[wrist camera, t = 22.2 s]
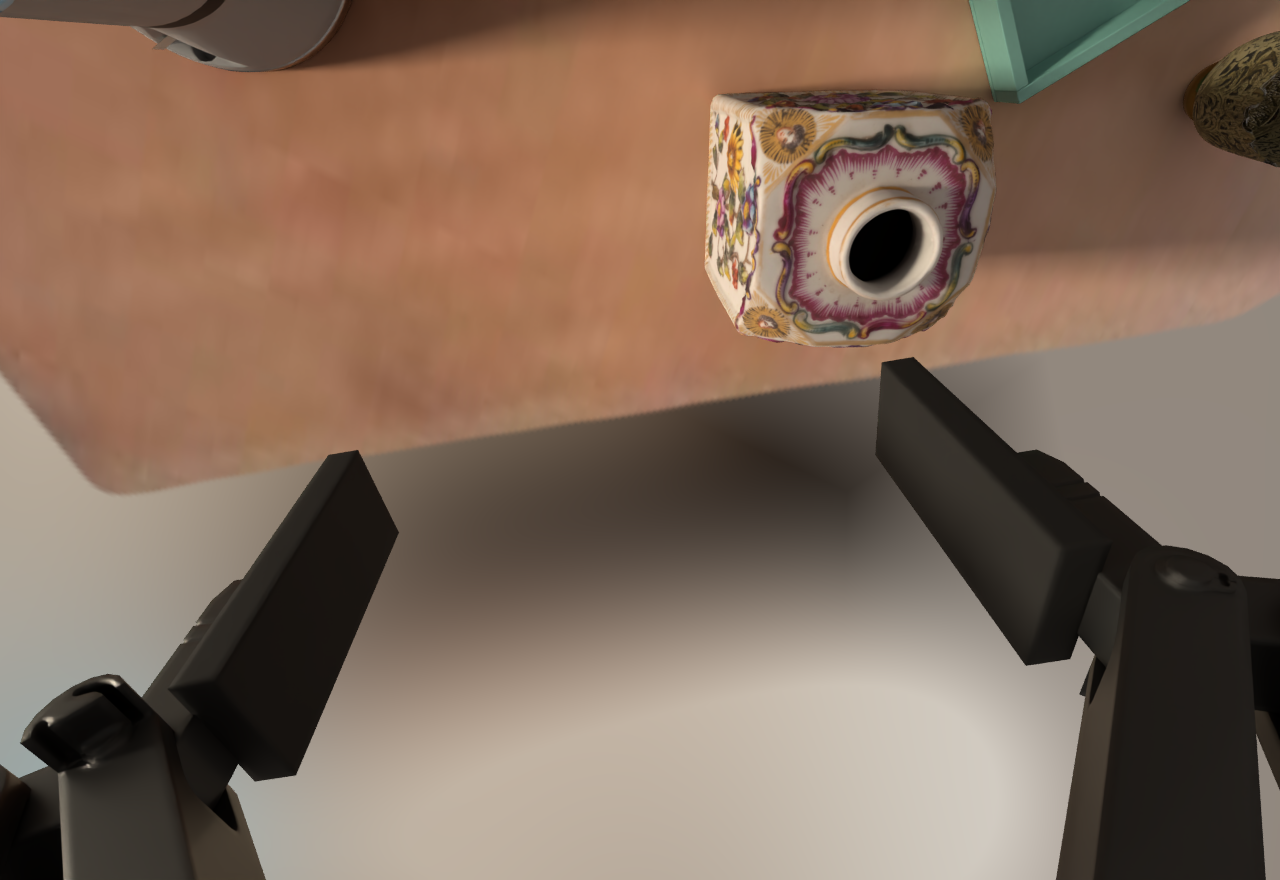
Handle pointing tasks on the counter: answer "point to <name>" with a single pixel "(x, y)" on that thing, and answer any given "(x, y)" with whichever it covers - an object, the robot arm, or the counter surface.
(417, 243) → the counter surface
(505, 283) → the counter surface
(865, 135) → the decorative jar
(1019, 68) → the tray
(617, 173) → the counter surface
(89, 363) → the counter surface
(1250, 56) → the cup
